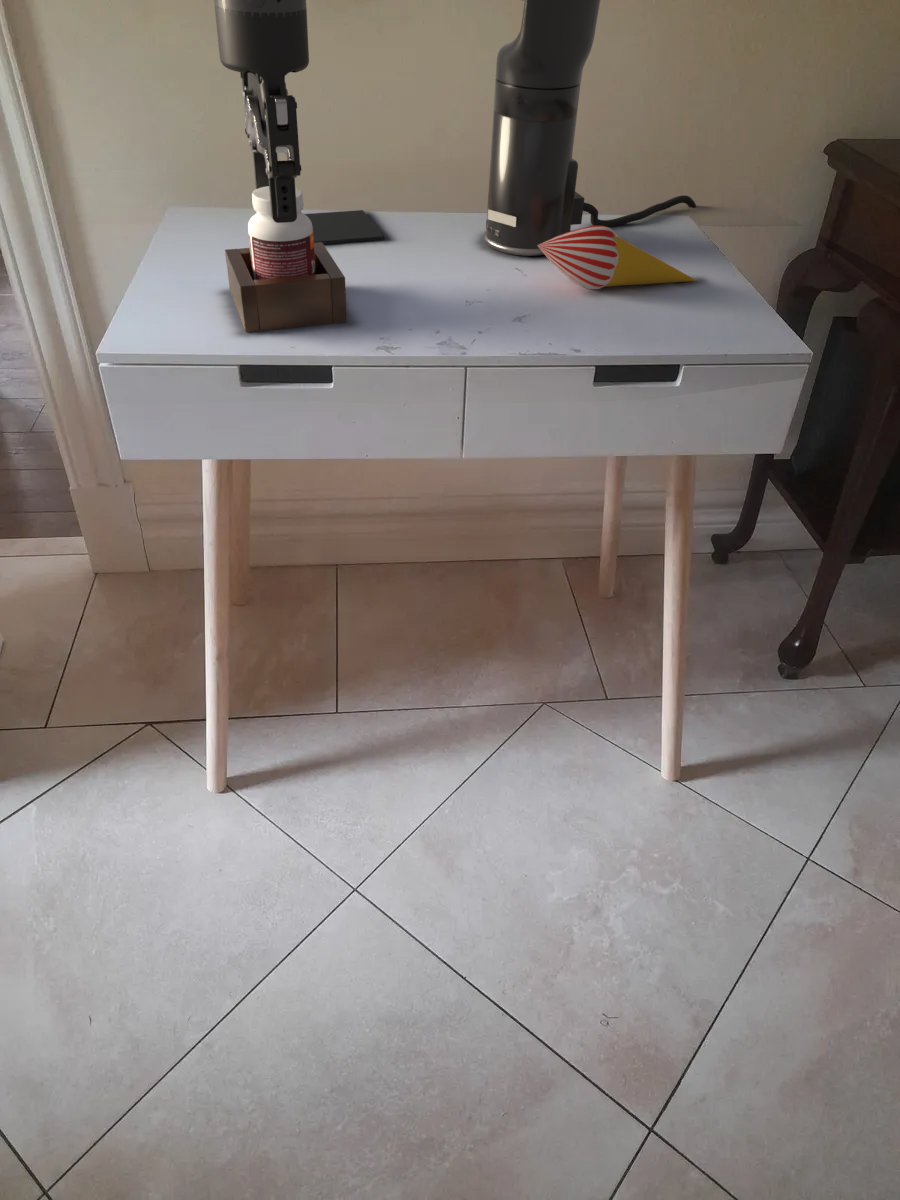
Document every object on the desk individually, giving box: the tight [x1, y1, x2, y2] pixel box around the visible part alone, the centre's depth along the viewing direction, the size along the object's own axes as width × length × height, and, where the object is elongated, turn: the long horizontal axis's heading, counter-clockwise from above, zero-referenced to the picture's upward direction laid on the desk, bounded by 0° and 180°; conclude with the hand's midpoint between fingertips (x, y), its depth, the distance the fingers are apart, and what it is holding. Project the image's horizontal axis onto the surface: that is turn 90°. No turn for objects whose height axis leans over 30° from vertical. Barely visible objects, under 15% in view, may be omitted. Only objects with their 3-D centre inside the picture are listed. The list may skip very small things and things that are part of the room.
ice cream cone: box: [537, 225, 697, 290], centre depth 96 cm, size 6×6×20 cm
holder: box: [224, 242, 348, 333], centre depth 89 cm, size 10×10×4 cm
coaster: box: [304, 209, 385, 245], centre depth 108 cm, size 10×10×1 cm
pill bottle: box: [247, 186, 316, 280], centre depth 86 cm, size 6×6×11 cm
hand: (276, 206), depth 84 cm, fingers open, 8 cm apart
